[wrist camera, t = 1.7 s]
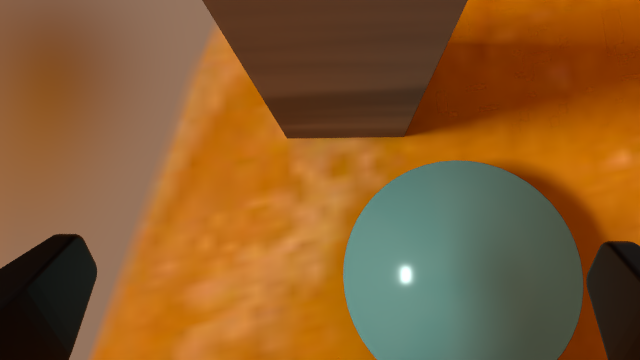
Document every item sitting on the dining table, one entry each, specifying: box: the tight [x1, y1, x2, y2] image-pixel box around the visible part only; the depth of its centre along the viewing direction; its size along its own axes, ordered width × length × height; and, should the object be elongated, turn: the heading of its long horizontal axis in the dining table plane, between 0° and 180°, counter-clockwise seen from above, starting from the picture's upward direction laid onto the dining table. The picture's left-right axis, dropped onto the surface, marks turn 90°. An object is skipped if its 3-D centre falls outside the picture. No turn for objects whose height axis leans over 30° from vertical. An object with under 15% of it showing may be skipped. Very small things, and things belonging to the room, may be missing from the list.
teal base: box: [343, 161, 583, 360], centre depth 18 cm, size 9×9×2 cm
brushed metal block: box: [203, 0, 468, 138], centre depth 15 cm, size 5×5×13 cm
